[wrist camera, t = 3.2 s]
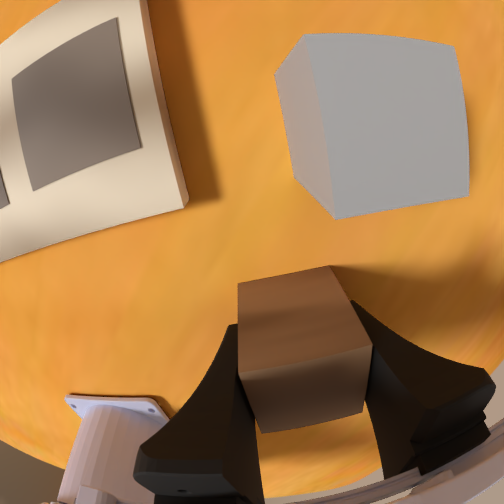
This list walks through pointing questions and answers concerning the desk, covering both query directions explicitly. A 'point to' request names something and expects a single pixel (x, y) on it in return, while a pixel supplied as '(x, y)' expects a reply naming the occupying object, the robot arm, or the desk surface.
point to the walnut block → (301, 350)
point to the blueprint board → (83, 126)
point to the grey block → (374, 121)
